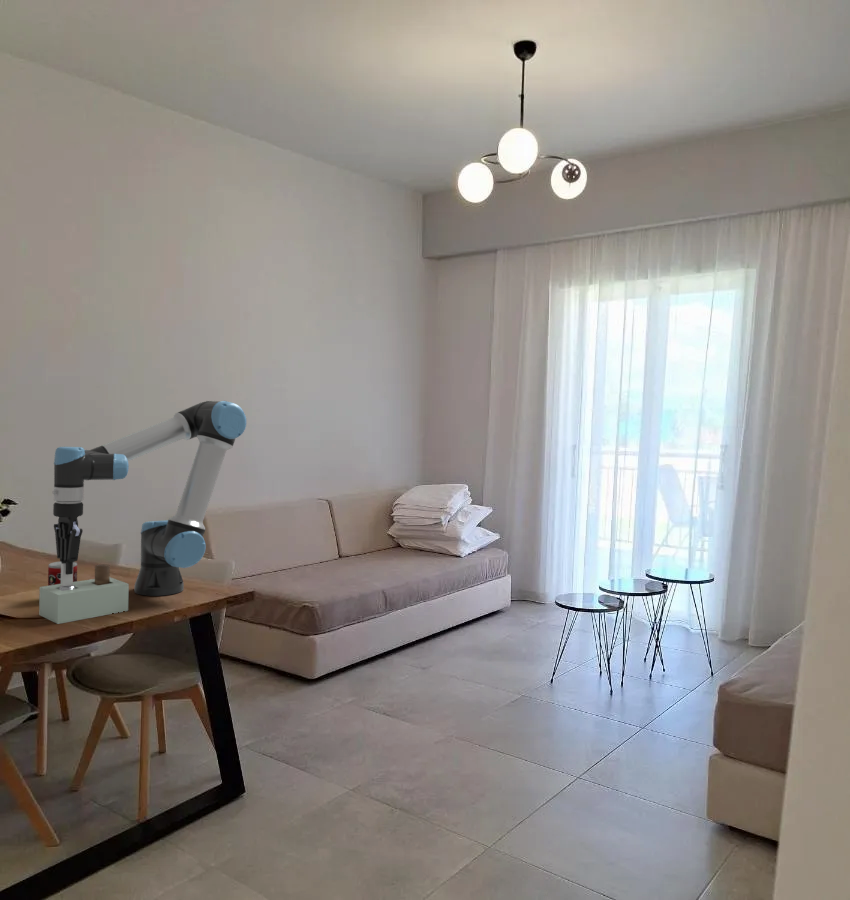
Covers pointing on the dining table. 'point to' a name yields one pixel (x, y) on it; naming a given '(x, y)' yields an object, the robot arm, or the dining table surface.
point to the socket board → (83, 600)
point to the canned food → (58, 573)
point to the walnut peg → (102, 574)
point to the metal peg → (66, 587)
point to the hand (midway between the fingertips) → (66, 585)
